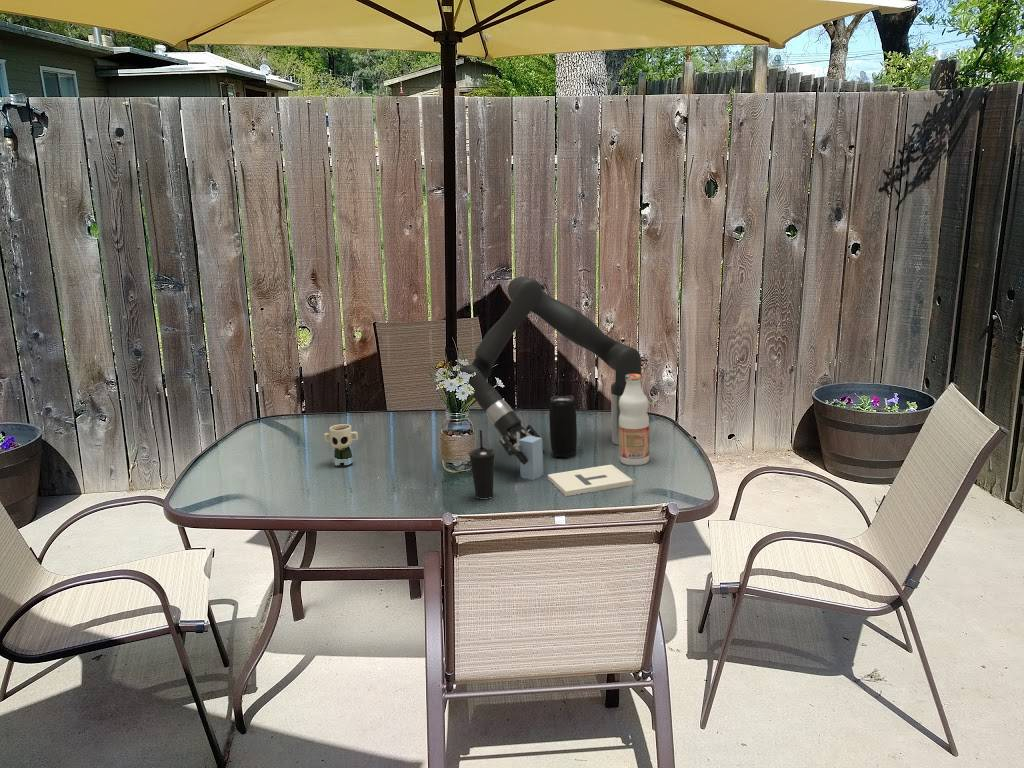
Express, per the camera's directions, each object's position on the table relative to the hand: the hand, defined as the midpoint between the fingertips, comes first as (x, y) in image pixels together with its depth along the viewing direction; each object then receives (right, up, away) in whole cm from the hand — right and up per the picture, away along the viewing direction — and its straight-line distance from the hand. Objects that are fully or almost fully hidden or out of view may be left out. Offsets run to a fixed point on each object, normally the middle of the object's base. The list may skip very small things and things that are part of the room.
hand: (534, 458), depth 247 cm
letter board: (+16, -6, -5) cm, 18 cm away
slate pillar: (-1, -6, +2) cm, 6 cm away
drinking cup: (-15, -10, -12) cm, 22 cm away
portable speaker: (+10, -1, +20) cm, 22 cm away
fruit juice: (+32, -2, +11) cm, 34 cm away
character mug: (-62, -4, +21) cm, 66 cm away
